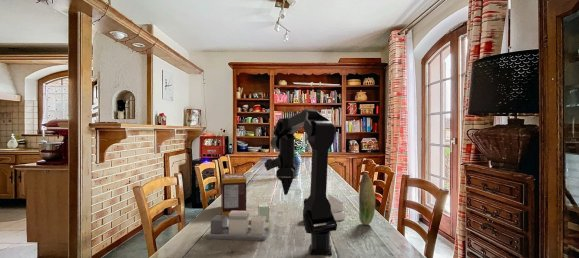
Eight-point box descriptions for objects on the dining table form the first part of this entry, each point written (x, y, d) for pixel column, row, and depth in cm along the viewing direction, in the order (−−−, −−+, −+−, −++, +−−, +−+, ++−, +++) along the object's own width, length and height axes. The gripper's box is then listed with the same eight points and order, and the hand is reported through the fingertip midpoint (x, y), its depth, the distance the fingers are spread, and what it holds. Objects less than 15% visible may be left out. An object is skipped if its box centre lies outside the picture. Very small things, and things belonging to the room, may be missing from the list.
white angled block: (318, 213, 120) (328, 194, 121) (337, 223, 123) (347, 204, 124) (321, 215, 117) (331, 196, 118) (341, 226, 119) (351, 207, 120)
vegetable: (375, 223, 115) (375, 172, 115) (375, 228, 109) (375, 175, 109) (359, 222, 117) (359, 172, 117) (358, 227, 111) (358, 174, 111)
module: (246, 234, 100) (246, 214, 100) (228, 234, 100) (228, 213, 100) (248, 230, 104) (248, 210, 104) (231, 230, 104) (231, 210, 104)
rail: (265, 240, 97) (265, 222, 97) (206, 238, 98) (206, 221, 98) (268, 231, 105) (268, 215, 105) (214, 230, 106) (214, 214, 106)
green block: (269, 221, 117) (269, 206, 117) (259, 221, 117) (259, 206, 117) (267, 217, 122) (267, 203, 122) (258, 218, 121) (258, 203, 121)
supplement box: (242, 205, 142) (243, 173, 142) (246, 214, 127) (246, 178, 127) (221, 206, 140) (221, 173, 140) (222, 215, 125) (222, 179, 125)
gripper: (269, 149, 122) (269, 186, 122) (262, 153, 103) (262, 197, 103) (295, 149, 121) (295, 187, 121) (293, 153, 102) (293, 197, 102)
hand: (286, 191), depth 112 cm, fingers open, 9 cm apart
